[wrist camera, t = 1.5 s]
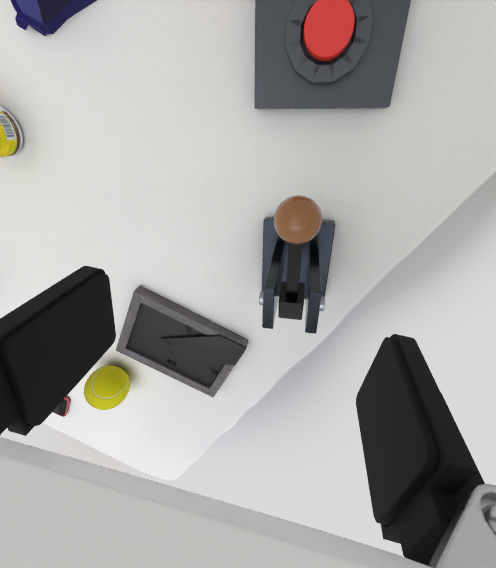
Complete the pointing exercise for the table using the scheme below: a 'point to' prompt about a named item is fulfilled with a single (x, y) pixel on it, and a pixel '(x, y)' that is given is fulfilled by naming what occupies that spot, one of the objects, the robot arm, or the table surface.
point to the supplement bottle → (9, 134)
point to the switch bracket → (311, 272)
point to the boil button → (328, 28)
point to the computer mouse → (46, 13)
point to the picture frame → (179, 342)
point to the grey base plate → (327, 74)
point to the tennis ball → (106, 387)
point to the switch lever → (295, 248)
